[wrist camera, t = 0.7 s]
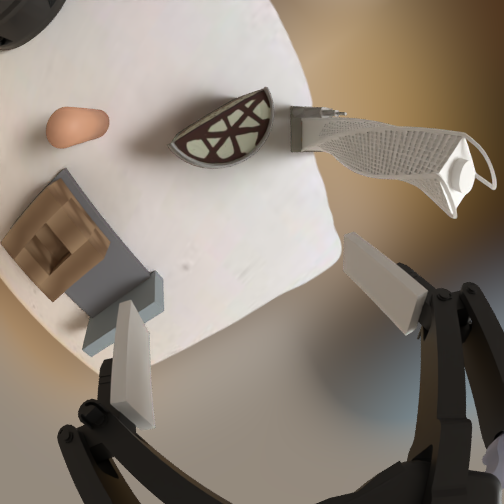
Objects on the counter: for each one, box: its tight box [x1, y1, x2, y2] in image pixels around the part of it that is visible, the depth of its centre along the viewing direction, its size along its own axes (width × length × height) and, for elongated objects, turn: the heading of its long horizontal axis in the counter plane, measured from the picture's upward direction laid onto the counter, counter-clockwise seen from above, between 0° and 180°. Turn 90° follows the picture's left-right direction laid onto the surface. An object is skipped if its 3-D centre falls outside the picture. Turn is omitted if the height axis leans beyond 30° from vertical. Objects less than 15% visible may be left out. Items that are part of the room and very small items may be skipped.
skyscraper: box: [291, 106, 497, 218], centre depth 26 cm, size 8×8×28 cm
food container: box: [167, 87, 274, 169], centre depth 30 cm, size 12×6×10 cm, turn 120°
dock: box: [10, 168, 164, 357], centre depth 32 cm, size 23×16×8 cm
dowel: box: [46, 107, 109, 149], centre depth 23 cm, size 4×4×12 cm
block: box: [1, 178, 110, 302], centre depth 30 cm, size 12×12×5 cm
